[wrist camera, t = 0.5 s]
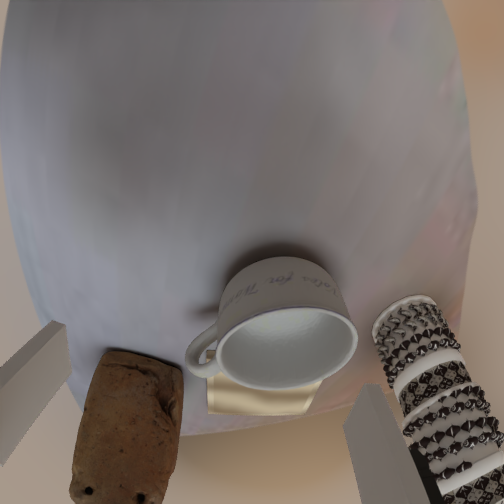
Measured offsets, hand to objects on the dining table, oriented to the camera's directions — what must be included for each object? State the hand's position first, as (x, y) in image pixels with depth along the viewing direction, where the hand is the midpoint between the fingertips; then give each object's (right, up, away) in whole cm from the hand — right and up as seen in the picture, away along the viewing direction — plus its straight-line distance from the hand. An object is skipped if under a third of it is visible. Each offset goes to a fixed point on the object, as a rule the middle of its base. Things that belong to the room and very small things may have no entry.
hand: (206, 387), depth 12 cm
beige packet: (+3, -11, +26) cm, 28 cm away
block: (-11, -9, +24) cm, 28 cm away
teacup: (+3, +2, +17) cm, 17 cm away
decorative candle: (+19, -2, +20) cm, 28 cm away
